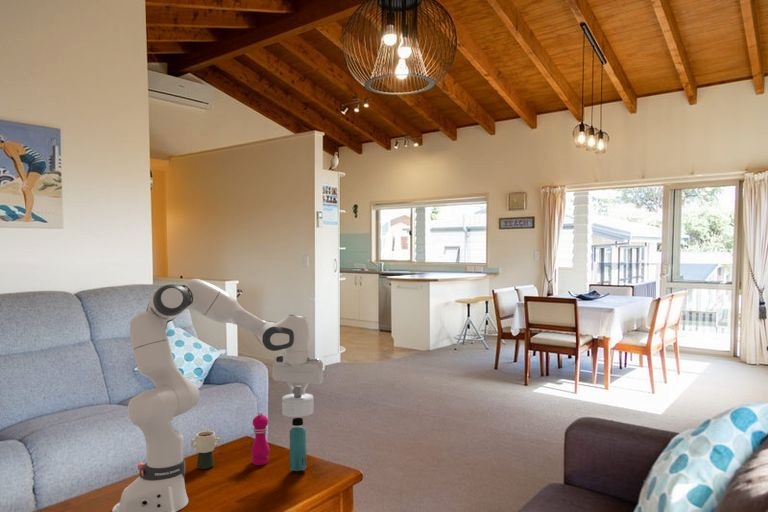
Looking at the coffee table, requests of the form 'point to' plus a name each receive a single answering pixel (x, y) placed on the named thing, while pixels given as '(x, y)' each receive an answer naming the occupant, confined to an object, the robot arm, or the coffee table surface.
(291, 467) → the beverage bottle
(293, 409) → the cap
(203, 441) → the character mug
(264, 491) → the coffee table surface
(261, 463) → the pepper mill
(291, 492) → the coffee table surface
